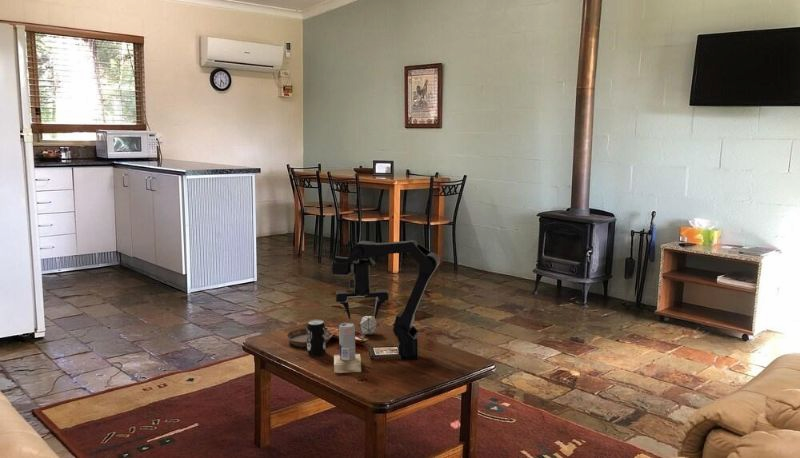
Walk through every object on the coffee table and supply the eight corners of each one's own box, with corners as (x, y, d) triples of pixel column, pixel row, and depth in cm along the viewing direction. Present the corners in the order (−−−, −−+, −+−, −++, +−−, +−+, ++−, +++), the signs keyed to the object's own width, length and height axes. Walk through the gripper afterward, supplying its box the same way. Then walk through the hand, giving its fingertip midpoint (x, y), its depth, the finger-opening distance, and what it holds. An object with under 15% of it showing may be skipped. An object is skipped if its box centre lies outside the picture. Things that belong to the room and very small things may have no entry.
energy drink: (347, 354, 218) (346, 321, 216) (358, 358, 215) (358, 324, 213) (336, 359, 214) (335, 325, 212) (347, 362, 211) (347, 328, 209)
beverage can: (322, 357, 225) (321, 325, 223) (304, 356, 226) (303, 324, 224) (327, 351, 231) (327, 319, 229) (311, 349, 233) (310, 318, 231)
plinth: (360, 362, 220) (359, 353, 219) (361, 371, 211) (360, 362, 211) (334, 363, 219) (334, 354, 219) (334, 373, 210) (334, 364, 210)
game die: (371, 342, 252) (384, 320, 254) (371, 341, 243) (384, 319, 245) (352, 330, 252) (365, 309, 254) (352, 329, 244) (365, 307, 246)
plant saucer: (311, 331, 255) (311, 324, 254) (342, 340, 243) (342, 333, 243) (277, 342, 241) (276, 335, 241) (307, 353, 230) (307, 345, 230)
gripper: (385, 270, 234) (386, 311, 236) (335, 272, 232) (336, 313, 234) (388, 277, 223) (388, 320, 225) (335, 279, 221) (336, 322, 223)
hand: (362, 318), depth 227 cm, fingers open, 9 cm apart
